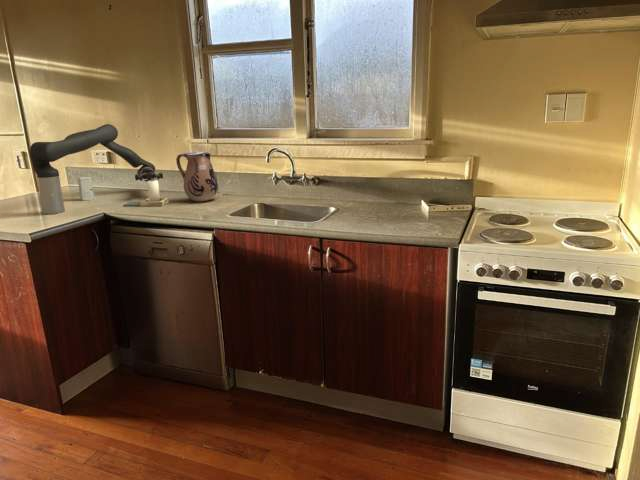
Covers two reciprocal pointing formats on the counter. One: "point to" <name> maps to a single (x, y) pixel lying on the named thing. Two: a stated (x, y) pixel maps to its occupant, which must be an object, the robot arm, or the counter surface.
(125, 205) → the tear pad
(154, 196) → the white pillar candle
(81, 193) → the skincare box
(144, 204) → the dispenser tray
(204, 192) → the ceramic pitcher
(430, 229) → the counter surface
